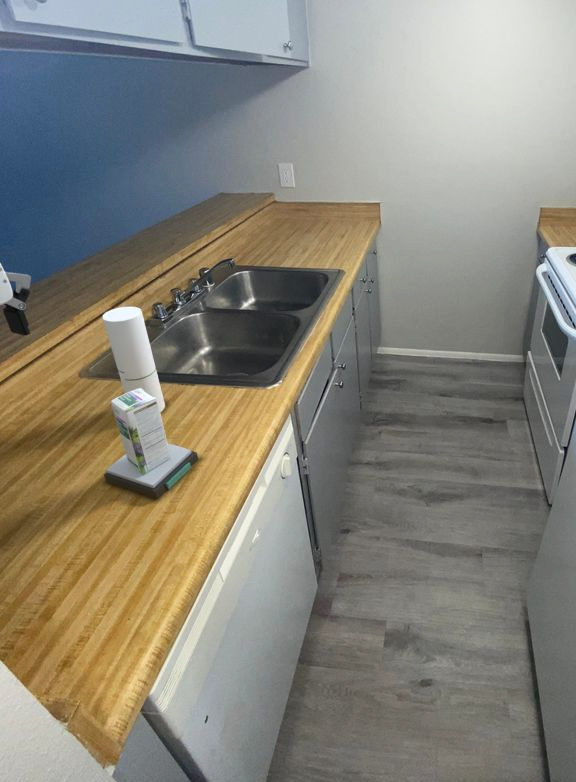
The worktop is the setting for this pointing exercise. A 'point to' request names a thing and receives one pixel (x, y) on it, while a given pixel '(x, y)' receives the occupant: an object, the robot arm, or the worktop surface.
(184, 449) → the scale
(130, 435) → the syrup box
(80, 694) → the worktop surface
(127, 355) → the cylindrical container
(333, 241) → the worktop surface
